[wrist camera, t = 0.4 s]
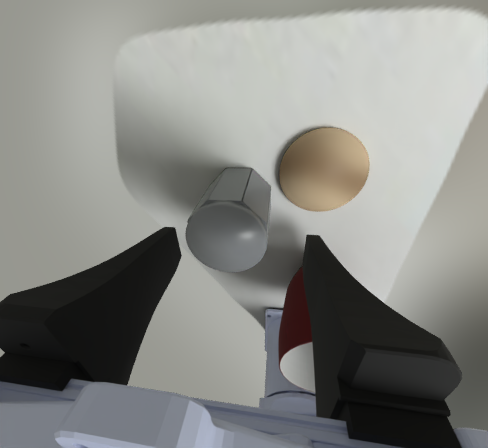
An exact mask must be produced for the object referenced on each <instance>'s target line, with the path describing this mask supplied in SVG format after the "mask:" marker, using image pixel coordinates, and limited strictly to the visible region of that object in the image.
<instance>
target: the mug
mask: <svg viewBox="0 0 488 448" xmlns="http://www.w3.org/2000/svg"><path fill="white" fill-rule="evenodd" d="M278 353H279V369H280V371H281V373H282V375H283V376H284V377H285V378H286V379H287V380H288V381H289V382H291V383H292V384H294V385H296V386H298V387H300V388H302V389H305V390H308V391H311V392H315V377H314V360H313V345H312V331H311V323H310V316H309V311H308V305H307V300H306V294H305V288H304V282H303V266H302V267H301V268H300V269H299V270H298V272H297V273H296V274H295V276H294V277H293V278H292V280H291V282H290V284H289V286H288V289H287V293H286V298H285V303H284V308H283V313H282V318H281V323H280V329H279V341H278Z"/></svg>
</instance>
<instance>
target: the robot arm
mask: <svg viewBox="0 0 488 448" xmlns="http://www.w3.org/2000/svg"><path fill="white" fill-rule="evenodd" d="M180 259H181V251H180V247H179V243H178V238H177V234H176V229H175V228H174V227H164V228H162V229H160V230H159V231H157V232H155V233H154V234H152V235H150V236H149V237H147V238H146V239H144V240H143V241H141V242H139V243H138V244H136V245H134V246H133V247H131V248H129V249H127V250H126V251H124V252H122V253H120V254H119V255H117V256H115V257H113V258H111V259H109V260H107V261H105V262H103V263H101V264H99V265H97V266H94V267H92V268H90V269H87V270H85V271H82V272H80V273H77V274H75V275H72V276H70V277H67V278H64V279H62V280H58V281H55V282H52V283H49V284H46V285H43V286H40V287H36V288H32V289H28V290H25V291H21V292H17V293H14V294H10V295H9V296H7V297H6V298H5V299H4V300H2V301H1V302H0V348H1V349H2V350H3V351H4V352H5V353H4V354H3V356H1V357H0V448H488V431H486V430H479V429H473V428H455V429H452V426H451V425H450V422H449V420H448V418H447V416H448V417H449V416H450V410H449V408H448V406H447V404H446V402H445V400H444V399H445V398H446V397H447V396H448V395H449V394H450V393H451V392H452V391H453V390H454V389H455V388H456V387H457V386H458V384H459V383H460V381H461V379H462V372H461V370H460V369H459V367H458V366H457V364H456V362H455V360H454V358H453V357H452V355H451V353H450V352H449V350H448V349H447V347H446V346H445V344H444V343H443V342H442V340H441V339H440V338H438V337H436V336H435V335H433V334H431V333H429V332H428V331H426V330H424V329H423V328H421V327H419V326H418V325H416V324H414V323H413V322H411V321H409V320H408V319H406V318H405V317H403V316H402V315H400V314H399V313H397V312H396V311H394V310H393V309H392V308H390V307H389V306H387V305H386V304H385V303H383V302H382V301H381V300H379V299H378V298H377V297H376V296H374V295H373V294H372V293H371V292H369V291H368V290H367V289H366V288H365V287H364V286H362V285H361V284H360V283H359V282H358V281H357V280H356V279H355V278H354V277H353V276H352V275H351V274H350V273H349V272H348V271H347V270H346V269H345V268H344V267H343V266H342V264H341V263H340V262H339V261H338V260H337V258H336V257H335V256H334V255H333V253H332V252H331V251H330V250H329V248H328V247H327V246H326V244H325V243H324V241H323V240H322V239H321V237H320V236H319V235H307V237H306V244H305V251H304V258H303V282H304V288H305V294H306V300H307V305H308V311H309V316H310V323H311V331H312V345H313V360H314V377H315V392H311V391H308V390H305V389H302V388H300V387H298V386H296V385H294V384H292V383H291V382H289V381H288V380H287V379H286V378H285V377H284V376H283V375H282V373H281V371H280V369H279V353H278V341H279V329H280V323H281V318H282V313H283V310H277V309H267V310H266V312H265V351H266V352H267V361H266V379H265V398H260V403H259V408H257V407H250V406H243V405H238V404H231V403H224V402H218V401H212V400H205V399H199V398H192V397H188V396H184V395H180V394H177V393H172V392H165V391H158V390H153V389H145V388H139V387H133V386H127V384H128V381H129V378H130V374H131V371H132V368H133V365H134V363H135V360H136V357H137V354H138V351H139V348H140V345H141V343H142V340H143V338H144V335H145V332H146V330H147V327H148V325H149V322H150V320H151V318H152V315H153V313H154V311H155V309H156V307H157V305H158V303H159V301H160V299H161V297H162V296H163V294H164V292H165V290H166V288H167V287H168V285H169V283H170V281H171V279H172V277H173V276H174V274H175V272H176V269H177V267H178V264H179V261H180Z"/></svg>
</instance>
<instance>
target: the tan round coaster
mask: <svg viewBox="0 0 488 448" xmlns="http://www.w3.org/2000/svg"><path fill="white" fill-rule="evenodd" d="M368 173H369V157H368V153H367V151H366V148H365V147H364V145H363V144H362V142H361V141H360V140H359V139H358V138H357V137H355V136H354V135H353V134H351V133H349V132H347V131H345V130H342V129H338V128H329V127H328V128H320V129H315V130H312V131H310V132H308V133H306V134H304V135H302V136H301V137H299V138H298V139H297V140H295V141H294V142H293V143H292V144H291V145H290V147H289V148H288V149H287V151H286V152H285V154H284V156H283V159H282V161H281V165H280V184H281V187H282V190H283V192H284V194H285V195H286V197H287V198H288V199H289V200H290V201H291V202H292V203H293V204H295V205H296V206H298V207H300V208H302V209H305V210H309V211H317V212H318V211H329V210H333V209H336V208H338V207H341V206H343V205H344V204H346V203H348V202H349V201H350V200H352V199H353V198H354V197H355V196H356V195H357V194H358V193H359V192H360V190H361V189H362V187H363V186H364V184H365V182H366V180H367V177H368Z"/></svg>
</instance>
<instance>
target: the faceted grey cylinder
mask: <svg viewBox="0 0 488 448" xmlns="http://www.w3.org/2000/svg"><path fill="white" fill-rule="evenodd" d="M270 206H271V187H270V185H269V184H268V183H267V182H266V181H265V180H264V179H263V178H262V177H261V176H260V175H259V174H258V173H257V172H256V171H255V170H254V169H252V168H226V169H225V170H224V171H223V172H222V173H221V174H220V175H219V176H218V177H217V178H216V179H215V180H214V181H213V183H212V184H211V185H210V186H209V188H208V189H207V191H206V192H205V194H204V196H203V197H202V199H201V200H200V202H199V203H198V205H197V206H196V208H195V209H194V211H193V212H192V214H191V216H190V217H189V219H188V225H187V228H186V241H187V244H188V247H189V249H190V250H191V252H192V253H193V255H194V256H195V257H196V258H197V259H198V260H199V261H201V262H202V263H203V264H205V265H207V266H208V267H210V268H213V269H215V270H219V271H223V272H240V271H244V270H247V269H250V268H252V267H253V266H255V265H256V264H257V263H259V261H260V260H261V259H262V258H263V256H264V254H265V251H266V250H267V243H268V231H269V219H270Z"/></svg>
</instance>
